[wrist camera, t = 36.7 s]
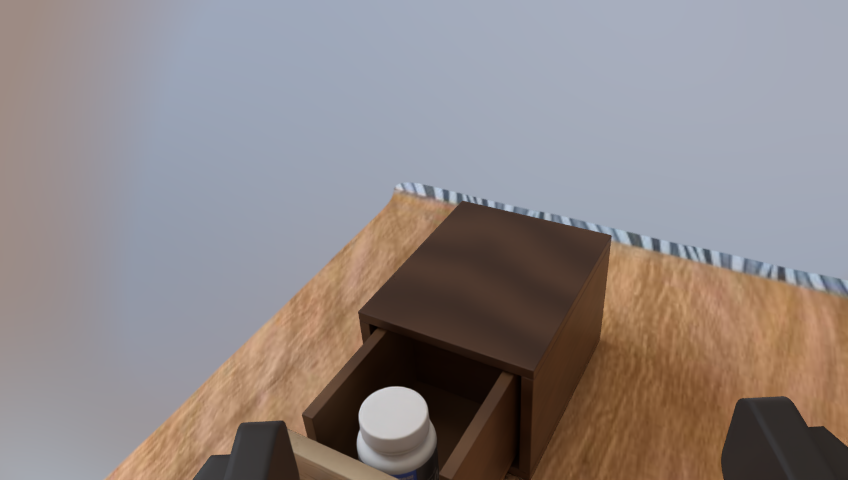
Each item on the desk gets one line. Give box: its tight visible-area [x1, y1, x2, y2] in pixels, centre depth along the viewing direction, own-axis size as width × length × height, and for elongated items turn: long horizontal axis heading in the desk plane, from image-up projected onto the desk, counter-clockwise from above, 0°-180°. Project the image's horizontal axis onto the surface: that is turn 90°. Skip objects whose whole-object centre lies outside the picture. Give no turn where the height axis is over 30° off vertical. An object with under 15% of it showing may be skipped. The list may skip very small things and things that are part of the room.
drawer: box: [287, 327, 521, 480], centre depth 41 cm, size 20×11×9 cm, turn 151°
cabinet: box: [358, 201, 612, 480], centre depth 51 cm, size 16×13×11 cm
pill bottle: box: [357, 387, 439, 480], centre depth 41 cm, size 5×5×8 cm
